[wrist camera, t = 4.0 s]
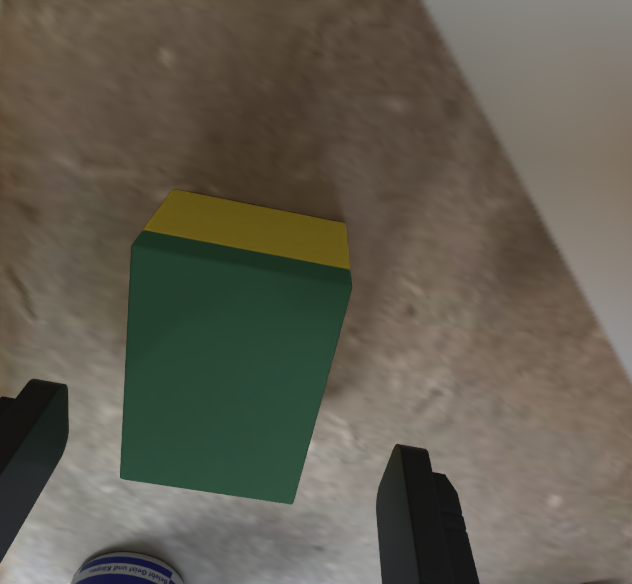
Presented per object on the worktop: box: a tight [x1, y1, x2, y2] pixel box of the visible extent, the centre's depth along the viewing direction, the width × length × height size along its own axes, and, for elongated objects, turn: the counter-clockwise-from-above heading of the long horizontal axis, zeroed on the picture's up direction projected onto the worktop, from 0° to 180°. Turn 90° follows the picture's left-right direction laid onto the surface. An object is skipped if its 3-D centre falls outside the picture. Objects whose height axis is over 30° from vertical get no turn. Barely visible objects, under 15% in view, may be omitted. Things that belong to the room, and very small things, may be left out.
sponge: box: [120, 189, 352, 504], centre depth 17 cm, size 8×5×4 cm
